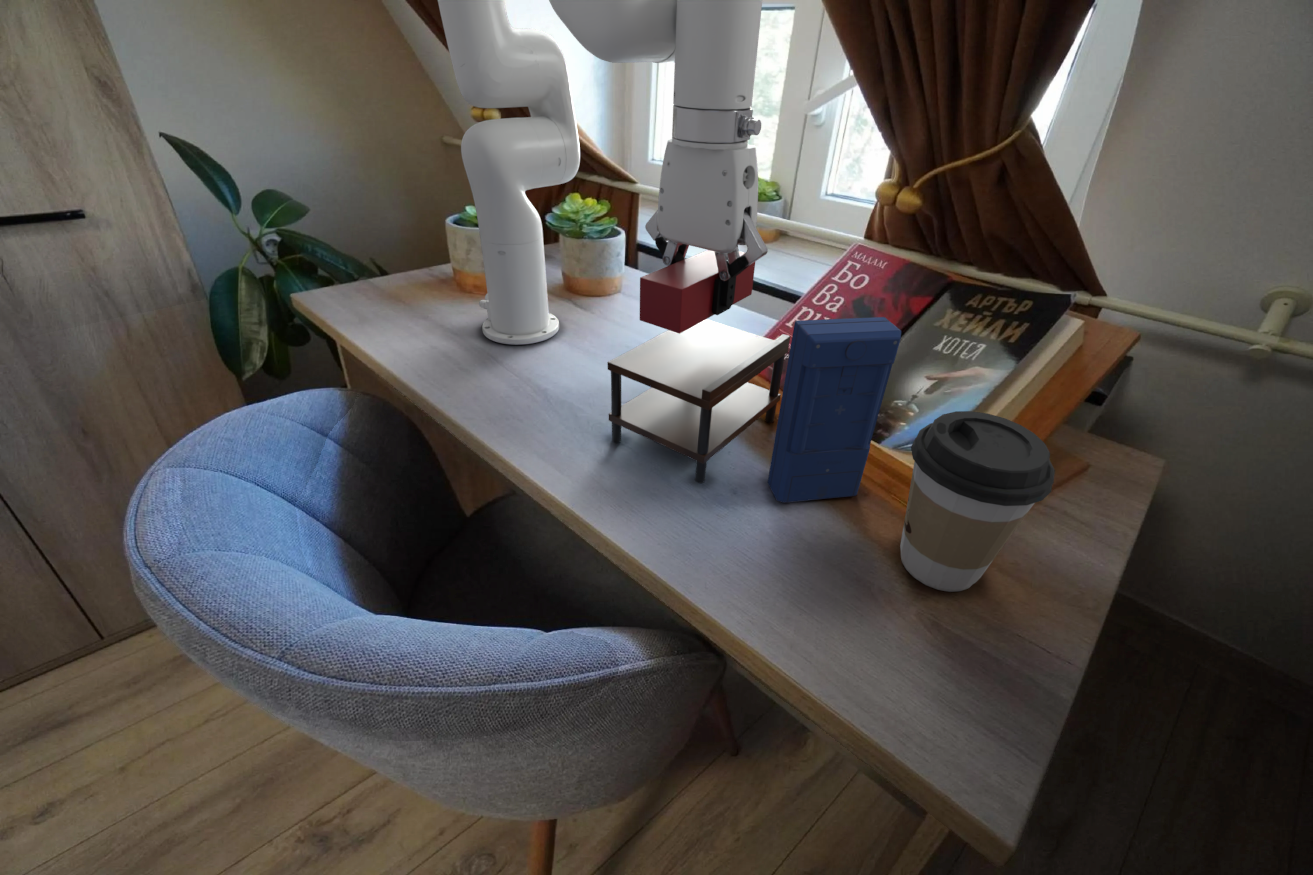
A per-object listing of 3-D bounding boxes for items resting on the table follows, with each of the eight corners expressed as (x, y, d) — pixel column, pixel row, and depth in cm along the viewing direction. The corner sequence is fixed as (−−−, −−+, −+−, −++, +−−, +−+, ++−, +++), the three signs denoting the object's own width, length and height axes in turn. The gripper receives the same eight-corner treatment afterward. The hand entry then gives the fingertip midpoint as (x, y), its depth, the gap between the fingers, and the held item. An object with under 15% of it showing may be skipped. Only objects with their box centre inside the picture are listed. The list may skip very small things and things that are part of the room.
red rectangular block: (639, 320, 66) (639, 277, 63) (714, 284, 76) (717, 245, 73) (679, 334, 63) (681, 289, 60) (751, 294, 73) (756, 255, 70)
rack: (608, 440, 76) (607, 352, 69) (690, 386, 88) (696, 307, 81) (701, 485, 69) (710, 392, 62) (776, 420, 81) (790, 336, 74)
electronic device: (840, 471, 72) (881, 312, 61) (859, 499, 68) (907, 334, 56) (764, 477, 70) (791, 316, 59) (779, 506, 66) (811, 338, 55)
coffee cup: (883, 513, 66) (921, 393, 57) (997, 544, 62) (1056, 421, 54) (872, 586, 57) (915, 457, 49) (1004, 626, 53) (1075, 496, 45)
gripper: (808, 133, 57) (781, 314, 67) (663, 116, 66) (658, 279, 76) (770, 142, 52) (747, 335, 62) (618, 122, 61) (620, 295, 71)
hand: (698, 302), depth 69 cm, fingers closed on red rectangular block, 5 cm apart
